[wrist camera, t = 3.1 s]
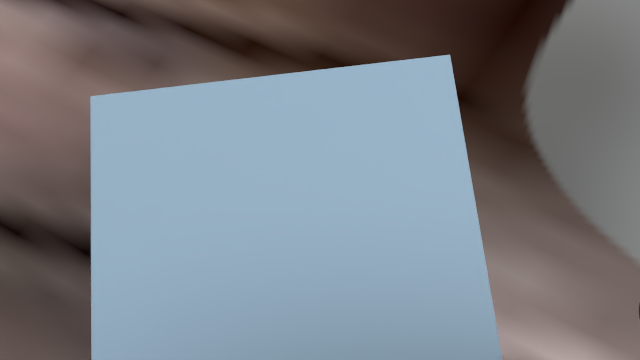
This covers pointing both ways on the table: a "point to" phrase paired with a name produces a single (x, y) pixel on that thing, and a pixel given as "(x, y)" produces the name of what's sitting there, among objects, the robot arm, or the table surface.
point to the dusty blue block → (288, 220)
